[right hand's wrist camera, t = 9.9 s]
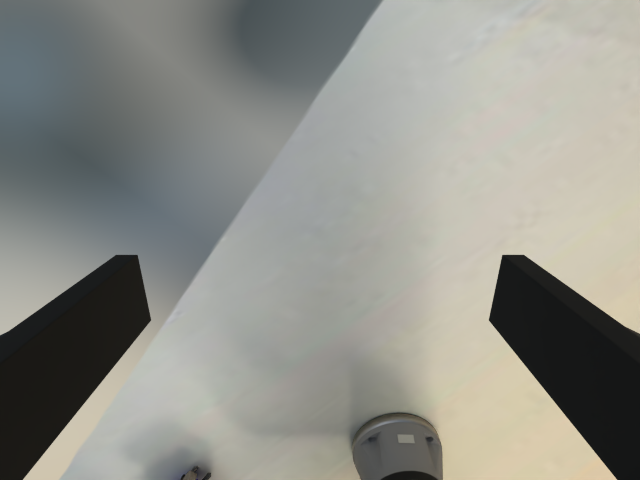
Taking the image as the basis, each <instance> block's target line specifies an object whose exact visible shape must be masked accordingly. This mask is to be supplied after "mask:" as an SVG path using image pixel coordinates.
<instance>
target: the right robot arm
mask: <svg viewBox="0 0 640 480" xmlns="http://www.w3.org/2000/svg"><path fill="white" fill-rule="evenodd" d="M150 321H151V317H150V313H149V308H148V303H147V298H146V293H145V289H144V284H143V279H142V274H141V269H140V265H139V260H138V255H115V256H114V257H113V258H111V259H110V260H109V261H107V262H106V263H104V264H103V265H101V266H100V267H99V268H97V269H96V270H94V271H93V272H92V273H90V274H89V275H87V276H86V277H85V278H83V279H82V280H80V281H79V282H77V283H76V284H75V285H73V286H72V287H70V288H69V289H68V290H66V291H65V292H63V293H62V294H61V295H59V296H58V297H56V298H55V299H54V300H52V301H51V302H49V303H48V304H46V305H45V306H44V307H42V308H41V309H39V310H38V311H37V312H35V313H34V314H32V315H31V316H30V317H28V318H27V319H25V320H24V321H23V322H21V323H20V324H18V325H17V326H15V327H14V328H13V329H11V330H10V331H8V332H6V333H4V334H2V335H0V480H23V479H24V477H25V476H26V475H27V474H28V472H29V471H30V470H31V469H32V467H33V466H34V465H35V464H36V463H37V461H38V460H39V459H40V458H41V456H42V455H43V454H44V453H45V451H46V450H47V449H48V448H49V446H50V445H51V444H52V443H53V441H54V440H55V439H56V438H57V436H58V435H59V434H60V433H61V431H62V430H63V429H64V428H65V426H66V425H67V424H68V423H69V422H70V420H71V419H72V418H73V417H74V415H75V414H76V413H77V411H78V410H79V409H80V408H81V407H82V405H83V404H84V403H85V402H86V400H87V399H88V398H89V397H90V395H91V394H92V393H93V392H94V390H95V389H96V388H97V387H98V385H99V384H100V383H101V382H102V380H103V379H104V378H105V377H106V375H107V374H108V373H109V372H110V371H111V369H112V368H113V367H114V366H115V364H116V363H117V362H118V361H119V359H120V358H121V357H122V356H123V354H124V353H125V352H126V351H127V349H128V348H129V347H130V346H131V344H132V343H133V342H134V341H135V340H136V338H137V337H138V336H139V335H140V333H141V332H142V331H143V330H144V328H145V327H146V326H147V324H148V323H149V322H150ZM489 321H490V322H491V323H492V325H493V326H494V327H495V328H496V330H497V331H498V332H499V333H500V335H501V336H502V337H503V338H504V340H505V341H506V342H507V343H508V345H509V346H510V347H511V348H512V349H513V351H514V352H515V353H516V354H517V356H518V357H519V358H520V359H521V361H522V362H523V363H524V364H525V366H526V367H527V368H528V369H529V371H530V372H531V373H532V374H533V376H534V377H535V378H536V379H537V381H538V382H539V383H540V384H541V385H542V387H543V388H544V389H545V390H546V392H547V393H548V394H549V395H550V397H551V398H552V399H553V400H554V402H555V403H556V404H557V405H558V407H559V408H560V409H561V410H562V412H563V413H564V414H565V415H566V417H567V418H568V419H569V420H570V422H571V423H572V424H573V425H574V426H575V428H576V429H577V430H578V431H579V433H580V434H581V435H582V436H583V438H584V439H585V440H586V441H587V443H588V444H589V445H590V446H591V448H592V449H593V450H594V451H595V453H596V454H597V455H598V456H599V458H600V459H601V460H602V461H603V463H604V464H605V465H606V466H607V467H608V469H609V470H610V471H611V472H612V474H613V475H614V476H615V477H616V479H617V480H640V334H639V333H637V332H635V331H633V330H631V329H629V328H626V327H625V326H623V325H622V324H620V323H619V322H617V321H616V320H615V319H613V318H612V317H610V316H609V315H608V314H606V313H605V312H603V311H602V310H601V309H599V308H598V307H596V306H595V305H594V304H592V303H591V302H589V301H588V300H586V299H585V298H584V297H582V296H581V295H579V294H578V293H577V292H575V291H574V290H572V289H571V288H570V287H568V286H567V285H565V284H564V283H563V282H561V281H560V280H558V279H557V278H556V277H554V276H553V275H551V274H550V273H548V272H547V271H546V270H544V269H543V268H541V267H540V266H539V265H537V264H536V263H534V262H533V261H532V260H530V259H529V258H527V257H526V256H525V255H502V260H501V265H500V269H499V274H498V279H497V284H496V289H495V293H494V298H493V303H492V308H491V313H490V317H489ZM352 451H353V460H354V464H355V466H356V469H357V471H358V473H359V476H360V478H361V480H443V465H442V446H441V443H440V440H439V437H438V434H437V432H436V430H435V429H434V427H433V426H432V425H431V424H430V423H428V422H427V421H425V420H424V419H422V418H420V417H417V416H414V415H410V414H388V415H384V416H380V417H377V418H375V419H373V420H371V421H369V422H368V423H366V424H365V425H364V426H362V427H361V428H360V429H359V431H358V432H357V433H356V435H355V437H354V439H353V443H352Z"/></svg>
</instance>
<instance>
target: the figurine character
mask: <svg viewBox="0 0 640 480" xmlns="http://www.w3.org/2000/svg"><path fill="white" fill-rule="evenodd" d="M197 469H198V466H196V467H194V468H193V469H192V470H191V471H189V472H188V473H187V474H186V475H185V474H184V475H183V476H182V478H181V480H198V479H196V477H197V474H195V473H194V472H195V471H196V470H197ZM210 477H211V473H208V474H207V475H206V476H205V477H204V478H203V479H202V480H208V479H209V478H210Z"/></svg>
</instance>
